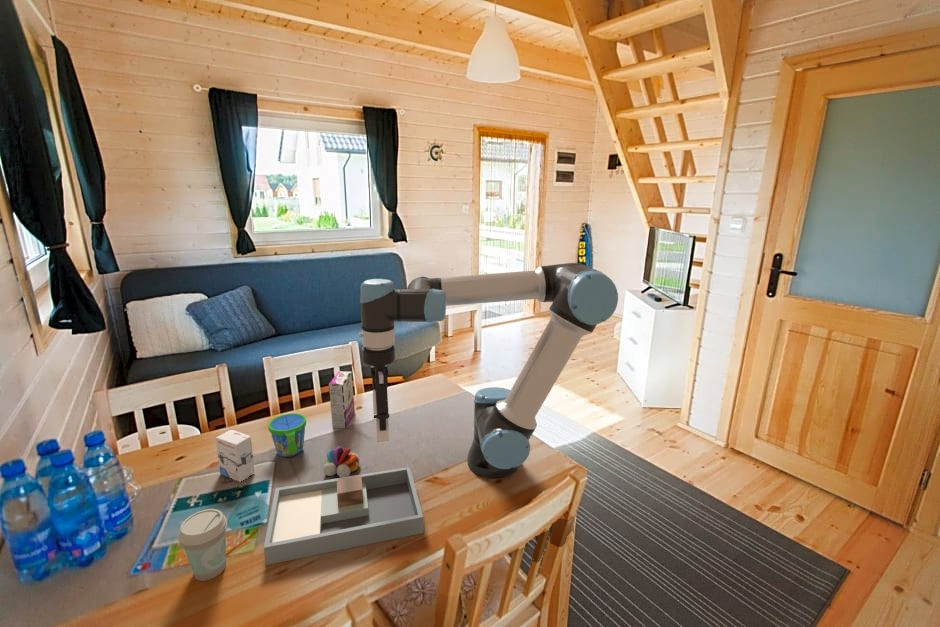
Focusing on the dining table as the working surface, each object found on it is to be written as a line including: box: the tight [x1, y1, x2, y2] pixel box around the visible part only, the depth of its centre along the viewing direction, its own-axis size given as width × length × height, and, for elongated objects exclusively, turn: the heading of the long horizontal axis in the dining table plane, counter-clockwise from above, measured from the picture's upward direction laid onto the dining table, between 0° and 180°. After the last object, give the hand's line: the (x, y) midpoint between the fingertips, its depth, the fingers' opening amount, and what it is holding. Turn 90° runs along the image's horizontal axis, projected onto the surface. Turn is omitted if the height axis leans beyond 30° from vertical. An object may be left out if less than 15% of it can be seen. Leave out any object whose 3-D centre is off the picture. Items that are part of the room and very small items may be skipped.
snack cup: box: [267, 412, 307, 458], centre depth 133 cm, size 16×10×10 cm
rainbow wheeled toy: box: [322, 446, 361, 478], centre depth 125 cm, size 8×10×7 cm
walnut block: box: [336, 474, 363, 508], centre depth 110 cm, size 6×6×4 cm
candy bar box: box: [328, 370, 356, 430], centre depth 150 cm, size 11×5×16 cm, turn 179°
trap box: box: [263, 466, 425, 566], centre depth 107 cm, size 34×20×4 cm, turn 106°
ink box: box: [215, 429, 255, 483], centre depth 122 cm, size 9×5×12 cm, turn 65°
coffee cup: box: [178, 508, 228, 582], centre depth 91 cm, size 9×8×12 cm
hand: (380, 426), depth 109 cm, fingers open, 13 cm apart
